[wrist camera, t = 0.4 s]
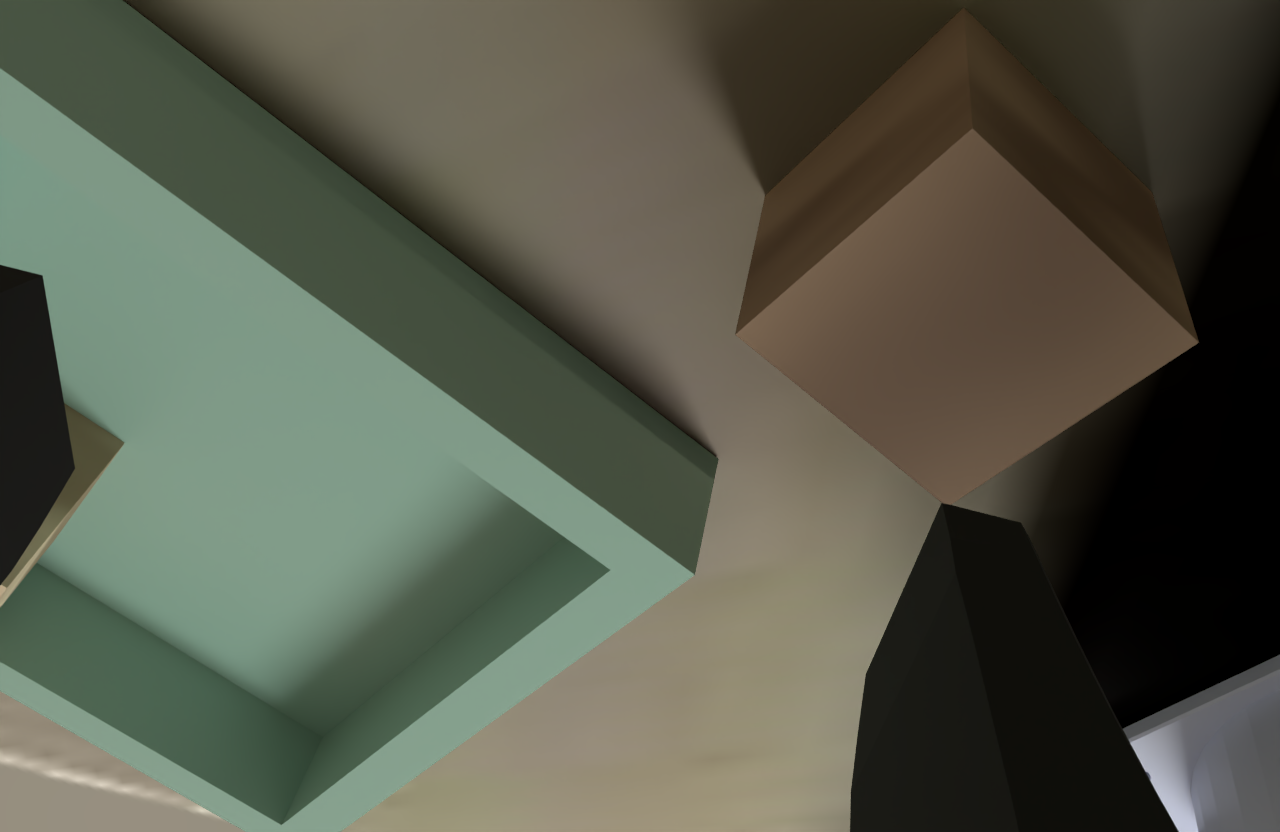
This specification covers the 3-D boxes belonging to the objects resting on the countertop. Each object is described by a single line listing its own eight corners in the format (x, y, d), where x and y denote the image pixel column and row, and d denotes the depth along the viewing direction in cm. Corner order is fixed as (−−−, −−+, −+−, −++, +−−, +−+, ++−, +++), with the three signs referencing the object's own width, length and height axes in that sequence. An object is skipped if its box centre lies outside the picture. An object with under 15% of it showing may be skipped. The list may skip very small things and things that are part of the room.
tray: (718, 458, 22) (694, 574, 20) (346, 754, 30) (298, 861, 28) (27, -73, 18) (-102, -7, 16) (-193, 425, 26) (-300, 519, 24)
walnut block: (1151, 189, 18) (1198, 342, 15) (943, 346, 20) (947, 506, 17) (964, 5, 17) (972, 128, 14) (766, 192, 19) (734, 334, 16)
